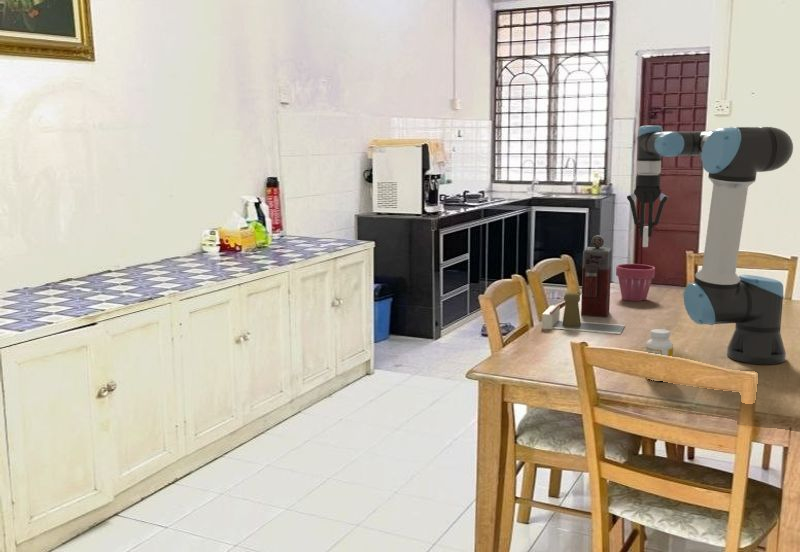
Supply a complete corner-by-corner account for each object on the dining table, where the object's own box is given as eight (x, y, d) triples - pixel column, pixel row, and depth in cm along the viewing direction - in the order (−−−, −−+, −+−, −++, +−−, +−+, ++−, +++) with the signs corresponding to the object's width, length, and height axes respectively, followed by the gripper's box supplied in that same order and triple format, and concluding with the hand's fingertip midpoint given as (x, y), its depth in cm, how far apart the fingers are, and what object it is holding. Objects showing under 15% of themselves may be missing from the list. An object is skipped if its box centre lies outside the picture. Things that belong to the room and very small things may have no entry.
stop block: (551, 329, 259) (551, 312, 258) (541, 328, 260) (542, 311, 259) (559, 320, 272) (559, 303, 271) (550, 319, 273) (551, 303, 272)
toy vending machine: (580, 317, 276) (582, 237, 271) (584, 310, 286) (586, 233, 281) (606, 318, 273) (609, 238, 268) (609, 311, 283) (612, 234, 278)
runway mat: (620, 334, 251) (620, 333, 251) (551, 328, 260) (551, 327, 260) (625, 326, 262) (625, 325, 262) (558, 320, 271) (558, 319, 271)
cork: (560, 326, 262) (560, 293, 260) (565, 322, 267) (565, 290, 265) (578, 327, 259) (578, 295, 257) (582, 324, 264) (583, 291, 262)
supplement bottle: (666, 374, 209) (668, 327, 207) (675, 382, 203) (678, 333, 200) (641, 375, 209) (643, 328, 207) (649, 383, 202) (652, 334, 200)
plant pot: (657, 297, 307) (659, 265, 305) (648, 304, 295) (649, 270, 293) (621, 294, 315) (622, 262, 312) (610, 300, 303) (611, 267, 301)
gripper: (670, 173, 256) (667, 245, 260) (628, 173, 261) (626, 244, 265) (668, 174, 249) (665, 248, 254) (626, 174, 254) (623, 247, 259)
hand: (645, 246), depth 259 cm, fingers closed
